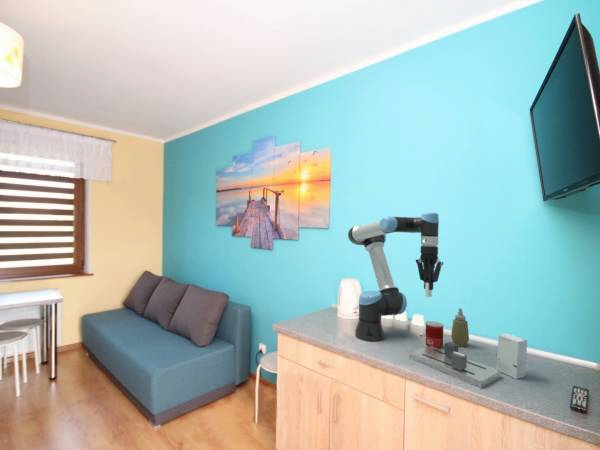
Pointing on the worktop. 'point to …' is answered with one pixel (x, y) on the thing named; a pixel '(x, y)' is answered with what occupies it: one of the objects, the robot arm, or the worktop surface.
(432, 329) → the canned food
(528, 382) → the worktop surface
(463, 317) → the squeeze bottle
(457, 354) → the fader
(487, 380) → the console
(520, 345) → the skincare box
